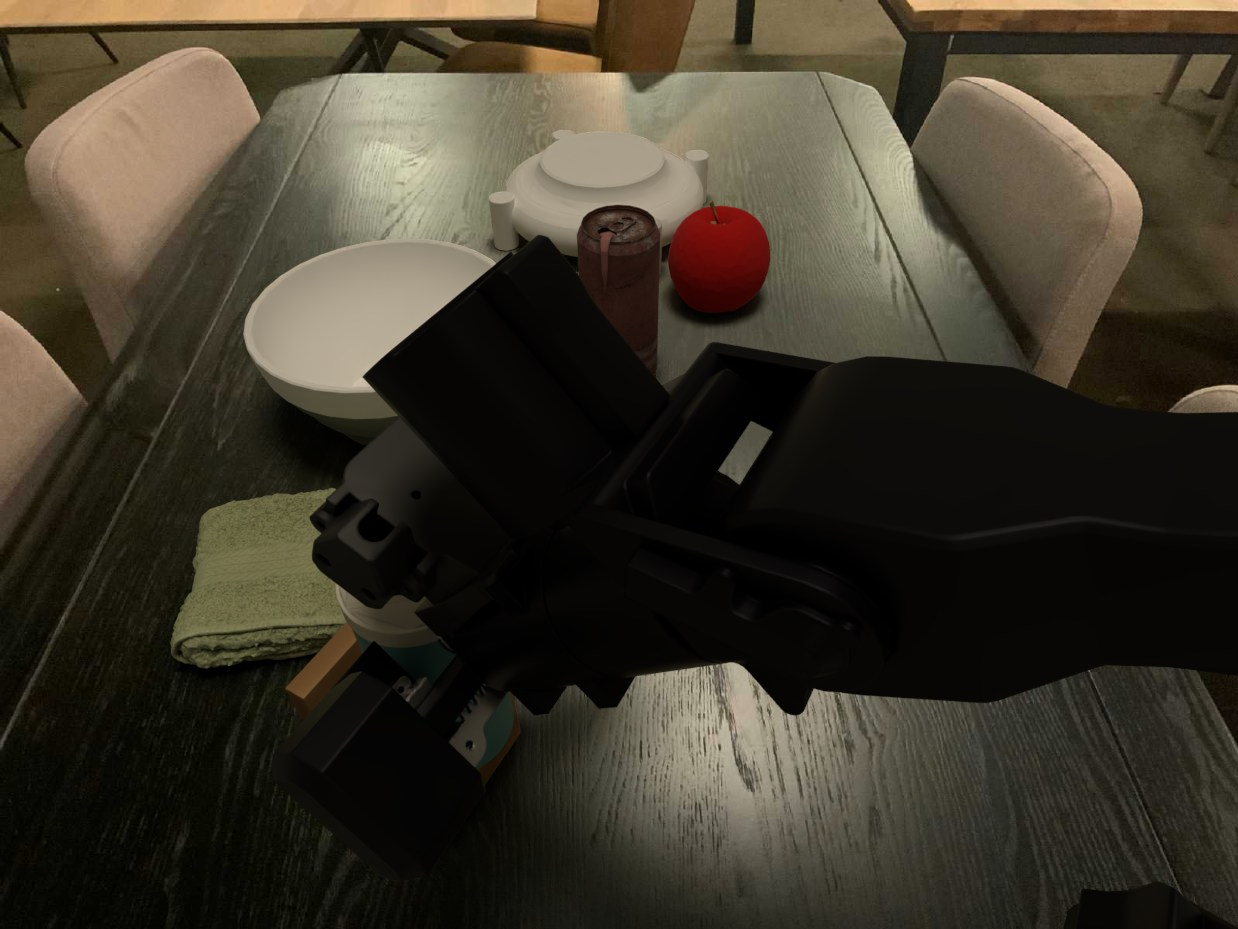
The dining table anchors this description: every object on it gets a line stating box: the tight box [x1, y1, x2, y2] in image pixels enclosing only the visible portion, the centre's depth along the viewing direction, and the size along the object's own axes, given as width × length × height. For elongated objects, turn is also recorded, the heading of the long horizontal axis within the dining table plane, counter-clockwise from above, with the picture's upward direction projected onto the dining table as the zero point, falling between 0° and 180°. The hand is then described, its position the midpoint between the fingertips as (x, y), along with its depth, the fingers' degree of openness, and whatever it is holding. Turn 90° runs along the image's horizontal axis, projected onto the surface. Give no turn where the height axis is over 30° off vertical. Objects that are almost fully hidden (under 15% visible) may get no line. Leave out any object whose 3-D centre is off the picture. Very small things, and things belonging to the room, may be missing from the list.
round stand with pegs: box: [488, 129, 710, 276], centre depth 87 cm, size 24×24×7 cm
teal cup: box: [335, 584, 514, 769], centre depth 39 cm, size 6×6×12 cm
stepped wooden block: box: [285, 622, 521, 787], centre depth 45 cm, size 8×8×9 cm
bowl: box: [243, 237, 497, 447], centre depth 66 cm, size 20×20×10 cm
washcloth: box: [170, 487, 347, 669], centre depth 56 cm, size 13×18×3 cm
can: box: [577, 205, 660, 377], centre depth 67 cm, size 6×6×14 cm
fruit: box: [667, 199, 771, 314], centre depth 76 cm, size 9×9×10 cm
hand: (413, 644), depth 39 cm, fingers closed on teal cup, 6 cm apart
